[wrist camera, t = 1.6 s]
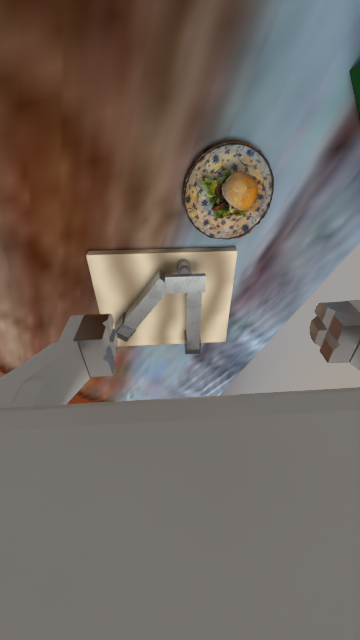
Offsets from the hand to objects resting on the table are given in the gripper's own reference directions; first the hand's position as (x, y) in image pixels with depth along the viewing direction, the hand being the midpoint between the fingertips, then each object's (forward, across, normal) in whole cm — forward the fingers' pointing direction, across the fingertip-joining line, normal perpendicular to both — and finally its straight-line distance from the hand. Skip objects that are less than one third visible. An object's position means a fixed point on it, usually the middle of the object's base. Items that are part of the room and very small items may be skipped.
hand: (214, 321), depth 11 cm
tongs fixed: (+28, 0, +18) cm, 34 cm away
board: (+30, +3, +18) cm, 35 cm away
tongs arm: (+28, +7, +17) cm, 33 cm away
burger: (+30, -6, +2) cm, 31 cm away
